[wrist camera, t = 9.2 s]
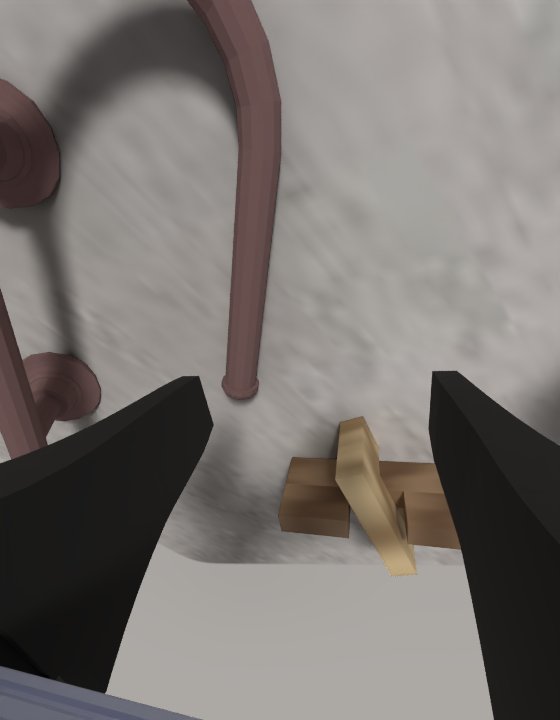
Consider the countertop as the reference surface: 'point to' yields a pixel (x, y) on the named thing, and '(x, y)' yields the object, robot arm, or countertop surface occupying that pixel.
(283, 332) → the countertop surface
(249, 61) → the toilet paper hanger
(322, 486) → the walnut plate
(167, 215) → the countertop surface
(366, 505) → the light wooden block
